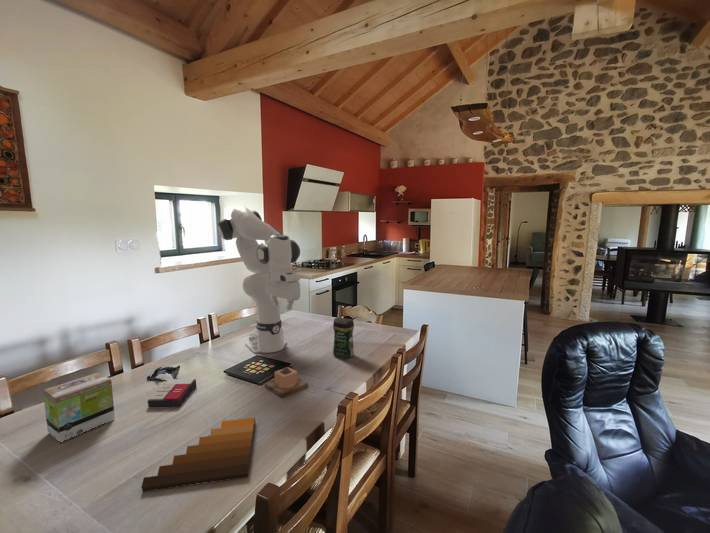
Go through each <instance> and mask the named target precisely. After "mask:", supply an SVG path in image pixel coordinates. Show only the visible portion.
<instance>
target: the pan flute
mask: <svg viewBox="0 0 710 533" xmlns="http://www.w3.org/2000/svg"><path fill="white" fill-rule="evenodd" d="M220 424H221V425H220V427H218V428H211V429H210V435H209V436H207V435H206V436H199V439H198V444H195V445H186V451H185V454H178V455H173V460H172V464H169V465H168V464H166V465H165V464H164V465H160V466H159V467H158V473H157V475H153V476H145V477H143V480H142V484H141V491H142V492H149V491H148V490H151V491H155V490H154V489H158V490H164V489H163V488H165V489H171V488H170V487H172V488H177V487H176V486H179V487H184V486H183V485H186V486H190V485H189V484H194V485H197V484H196V483H201V484H204V483H203V482H208V483H212V482H211V481H215V482H221V481H220V480H222V481H228V480H227V479H230V480H234V479H235V480H236V478H237V479H242V478H243V477H244V478H249V471H250V466H251V465H250V464H251V456H252V449H253V442H254V435H255V428H256V427H255V426H256V418H255V417H249V418H241V419H233V420H232V419H231V420H222V421H221V423H220Z"/></svg>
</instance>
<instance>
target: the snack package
mask: <svg viewBox="0 0 710 533" xmlns="http://www.w3.org/2000/svg"><path fill="white" fill-rule="evenodd" d="M180 370H181V365H177V366H176V367H175V366H165V367H164V366H163V367H162V366H160V367H158V368H156V369H154V370H153V373H152V374H150V375H147V376H146V380H147V379H149V380H162V381H165V380H164V379H165V378H164V377H161V378H159V377H158V378H156V377H157V376H158V375H159V374H166V373H168V374H171V376H172V378H173V379H178V376H179V372H180ZM151 375H152V376H151ZM150 376H151V377H150ZM163 378H164V379H163Z"/></svg>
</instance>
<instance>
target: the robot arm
mask: <svg viewBox="0 0 710 533" xmlns="http://www.w3.org/2000/svg"><path fill="white" fill-rule="evenodd" d="M217 231H218V234H219V236H220V237H221V238H222V239H223V240H225V241H229V240H233V239H236V240H235V245H236V249H237V252H238V254H239V256H240V258H241V260H242V261H243V262H242V263H243V264H244V266H245V267H246V269H247V270H248V271H249V272H250V273H253V274H251V275H248V276H246V277H245V278H244V279H243V281H242V289H243V292H244V293H245V295H246V296H248V297H249V298H251V299H252V300H253V302H254V304H255V307H256V311H257V312H256V313H257V320H256V321H255V324H256V326H255V328H254V329H253V330H252V331H251V332H250V333H249V336H248V340H247V341H245V342H244V345H245V346H246V347H247V348H248V349H249V350H250V351H251V352H252V353H254V354H256V353H257V354H259V353H263V354H265V353H267V354H269V353H275V352H280V351H282V350H283V349H285V347H286V344H287V341H286V340H285V334H284V333H285V332H284V329H283V328H282V325H283V324H282V319H281V306H280V302H279V300H278V298H281V299H284V300H287V305H285V309H286V310H287V311H292V310H293V304H294V302H295V301H298V300H300V298H301V284H300V282H299V281H300V280H301V277H300V276H301V275H300V274H298V273H297V272H295V270H293V264H294V263H296V262H297V260H298V259H299V257H300V255H301V248H300V246H299V244H298V243H297V242H296V241H295V240H293V239H290V237H289V236H288V235H286V234H283V233H282V232H280V230H278V229H277V228H276V227H274V226H272V225H270V224H268V223H267V222H265V221H263V219H262V217H261V215H260V213H259V212H258V211H256V210H250V209H249V208H247V207H245V206H237V207H235V208H234V209H233V210H232V212H231V213H230V217H227V218H223V219H221V220H220V221H219V222H218V223H217ZM258 241H264V242H261V243H260V244H259V242H258Z"/></svg>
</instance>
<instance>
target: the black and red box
mask: <svg viewBox="0 0 710 533" xmlns="http://www.w3.org/2000/svg"><path fill="white" fill-rule="evenodd" d="M196 388H197V379H195V378H179V379H178V378H176V379H171V378H170V379H166V380H165V382H164V383H163V384H162V385H161V386H160V387H159V388H158V389H157V391H155V393H153V395H152V396H151V397H150V398H149V399H148V400H147V406H148V408H149V407H168V408H181V406H182V405H183V404H184V403H185V402H186V400H187V399H188V398H189V396H191V393H193V392H194V391H195V390H194V389H196ZM193 390H194V391H193ZM192 391H193V392H192ZM187 397H188V398H187ZM186 398H187V399H186ZM183 402H184V403H183ZM182 403H183V404H182ZM181 404H182V405H181Z"/></svg>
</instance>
